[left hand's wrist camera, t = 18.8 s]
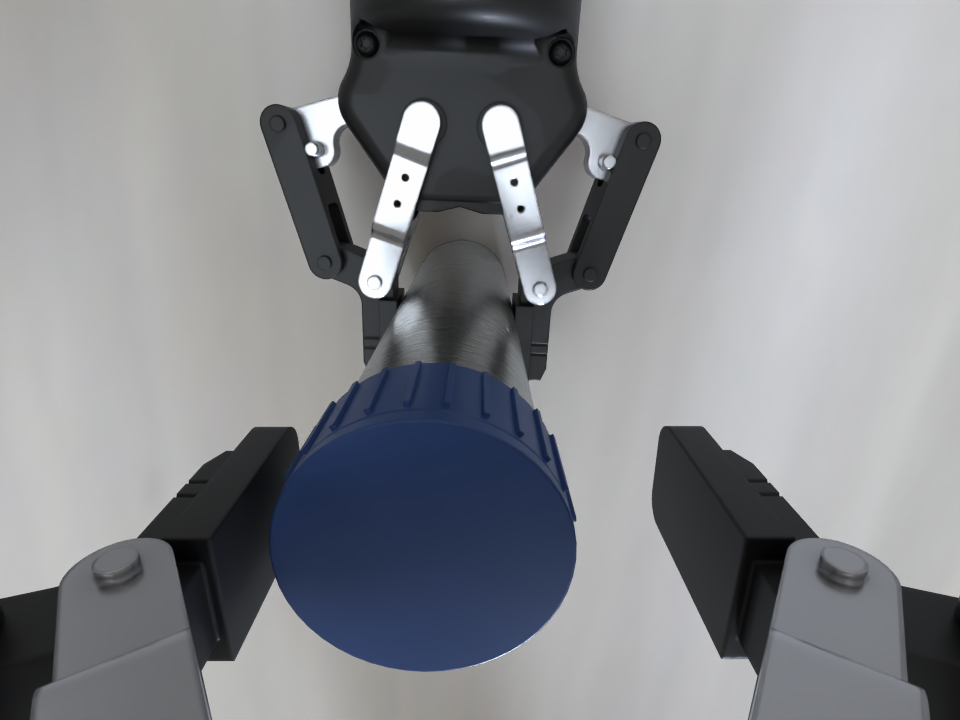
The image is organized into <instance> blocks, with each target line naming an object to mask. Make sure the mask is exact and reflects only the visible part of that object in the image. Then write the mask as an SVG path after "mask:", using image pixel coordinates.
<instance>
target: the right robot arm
mask: <svg viewBox="0 0 960 720" xmlns="http://www.w3.org/2000/svg"><path fill="white" fill-rule="evenodd" d="M580 9H581V0H350V13H351V43H352V49H351V58H350V63H349V66H348V69H347V72H346V74H345V76H344V78H343V80H342V82H341V84H340V88H339V92H338V96H336V97H332V98H329V99H325V100H321V101H318V102H314V103H310V104H307V105H303V106H299V107H295V108H290V107H286V106H283V105H279V104H273V105H270V106H268V107H266V108H265V109H264V110H263V112H262V114H261V117H260V126H261V130H262V132H263V135H264V138H265V141H266V144H267V147H268V150H269V153H270V155H271V158H272V161H273V164H274V167H275V170H276V173H277V176H278V178H279V181H280V184H281V187H282V190H283V193H284V196H285V199H286V201H287V204H288V207H289V210H290V213H291V216H292V219H293V222H294V224H295V227H296V230H297V233H298V236H299V239H300V242H301V245H302V248H303V250H304V253H305V256H306V259H307V262H308V265H309V267H310V270H311V271H312V272H313V274H315V275H316V276H317V277H319V278H322V279H331V278H332V279H335V280H337V281H340V282H342V283H345V284H347V285H350V286H351V287H353V288H354V289H355V290H356V291H357V292H358V294H359V295H360V298H361V301H362V321H363V346H364V349H363V352H364V363H365V365H366V366H367V364H368V362H369V360H370V359H371V357H372V355H373V353H374V351H375V349H376V348H377V346H378V344H379V342H380V340H381V339H382V337H383V335H384V333H385V331H386V329H387V328H388V326H389V324H390V322H391V320H392V318H393V317H394V315H395V313H396V311H397V309H398V308H399V306H400V304H401V302H402V300H403V298H404V288H398V277H399V275H400V272H401V269H402V265H403V262H404V259H405V256H406V253H407V250H408V247H409V244H410V241H411V238H412V235H413V233H414V230H415V227H416V225H417V222H418V219H419V215H420V212H421V211H428V212H439V211H443V210H448V209H452V208H456V207H462V208H466V209H469V210H472V211H475V212H478V213H481V214H500V215H503V218H504V222H505V226H506V229H507V233H508V237H509V240H510V244H511V248H512V252H513V256H514V260H515V264H516V267H517V271H518V275H519V281H518V293H513V295H512V310H513V314H514V319H515V323H516V328H517V333H518V337H519V342H520V346H521V351H522V355H523V360H524V365H525V369H526V374H527V378H528V381H529V380H540V379H541V377H542V375H543V374H544V372H545V370H546V362H547V351H548V339H549V327H550V316H551V309H552V306H553V304H554V302H555V301H556V300H557V299H558V298H559V297H560V296H562V295H564V294H566V293H570V292H573V291H576V290H579V289H584V290H594V289H596V288H598V287H600V286H601V285H602V284H603V282H604V281H605V278H606V276H607V274H608V271H609V269H610V266H611V264H612V261H613V259H614V256H615V254H616V252H617V249H618V247H619V244H620V242H621V239H622V237H623V234H624V232H625V230H626V227H627V225H628V222H629V220H630V217H631V215H632V213H633V210H634V208H635V205H636V203H637V200H638V198H639V195H640V193H641V191H642V188H643V186H644V183H645V181H646V178H647V176H648V173H649V171H650V169H651V166H652V164H653V161H654V159H655V156H656V154H657V151H658V149H659V146H660V143H661V134H660V131H659V129H658V128H657V127H656V126H655V125H654V124H653V123H650V122H635V123H630V122H627V121H624V120H621V119H619V118H616V117H613V116H611V115H608V114H605V113H602V112H600V111H597V110H594V109H592V108H589V107H587V100H586V96H585V93H584V91H583V88H582V86H581V83H580V80H579V76H578V72H577V63H576V56H577V43H578V32H579V21H580ZM347 127H349V129H350V130H351V132H352V133H353V135H354V136H355V137H356V139H357V140H358V142H359V143H360V145H361V146H362V148H363V149H364V151H365V152H366V153H367V155H368V156H369V158H370V159H371V161H372V162H373V164H374V165H375V166H376V168H377V169H378V171H379V172H380V174H381V175H382V177H383V178H384V180H385V183H384V187H383V190H382V194H381V197H380V200H379V204H378V207H377V210H376V214H375V217H374V221H373V225H372V234H371V238H370V241H369V245H368V248H367V250H366V249H364V248H361V247H359V246H356V245H354V244H353V241H352V238H351V235H350V232H349V229H348V226H347V222H346V219H345V216H344V213H343V210H342V207H341V203H340V200H339V197H338V194H337V191H336V188H335V184H334V181H333V178H332V175H331V172H330V168H329V167H330V166H333V165H334V164H335V163H336V162H337V161H338V159H339V157H340V145H339V140H340V136H341V134H342V132H343V131H344V130H345V129H346V128H347ZM576 136H577V137H578V138H580V140H581V141H582V142H583V144H584V147H585V157H584V168H585V171H586V172H587V174H588V175H589V176H591V177H592V178H595V180H594V183H593V185H592V188H591V191H590V193H589V196H588V199H587V201H586V204H585V206H584V209H583V212H582V214H581V217H580V220H579V222H578V225H577V228H576V230H575V233H574V235H573V238H572V241H571V243H570V246H569V249H568V251H567V253H565V254H561V255H558V256H555V257H552V258H550V257H549V253H548V249H547V245H546V240H545V232H544V227H543V223H542V219H541V214H540V210H539V206H538V202H537V198H536V193H535V188H536V187H537V185H538V184H539V183H540V181H541V180H542V179H543V178H544V176H545V175H546V174H547V173H548V171H549V170H550V169H551V167H552V166H553V165H554V164H555V162H556V161H557V160H558V159H559V157H560V156H561V155H562V153H563V152H564V151H565V150H566V148H567V147H568V146H569V145H570V143H571V142H572V141H573V139H574V138H575V137H576Z"/></svg>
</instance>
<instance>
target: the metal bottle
mask: <svg viewBox="0 0 960 720" xmlns="http://www.w3.org/2000/svg"><path fill="white" fill-rule="evenodd" d="M415 361H421V363H443V364H450V362H454V363H456V365H458V366H462V367H467V368H471V369H473V370H476V371H479V372H482V373H483V371H486V372H488V373H489V376H491V377H493V378H495V379H497V380H499V381H501V382H502V383H504V384H505V385H507V386H509V387H510V388H512V387H515V388H516V389H517V390H518V394H519V395H520V396H521V397H522V398H524V399H525V400H526V401H527V402H528V403H529V405H530V406H531V407H532V408H533V409H534V406H533V401H532V397H531V392H530V387H529V383H528V378H527V374H526V369H525V365H524V360H523V355H522V351H521V346H520V342H519V337H518V333H517V328H516V323H515V319H514V314H513V310H512V305H511V301H510V296H509V291H508V287H507V282H506V278H505V274H504V270H503V268H502V265H501V263H500V262H499V260H498V259H497V257H496V256H495V255H494V254H493V253H492V252H491V251H490V250H489V249H487V248H486V247H484V246H482V245H481V244H478V243H476V242H472V241H466V240H456V241H451V242H447V243H445V244H442V245H440V246H439V247H437V248H436V249H434V250H433V251H432V252H431V253H430V254H429V255H428V256H427V257H426V259H425V260H424V262H423V264H422V266H421V267H420V269H419V271H418V273H417V275H416V277H415V278H414V280H413V282H412V284H411V286H410V287H409V289H408V291H407V293H406V295H405V297H404V298H403V300H402V302H401V304H400V306H399V308H398V309H397V311H396V313H395V315H394V317H393V318H392V320H391V322H390V324H389V326H388V328H387V329H386V331H385V333H384V335H383V337H382V339H381V340H380V342H379V344H378V346H377V348H376V349H375V351H374V353H373V355H372V357H371V359H370V360H369V362H368V364H367V366H366V368H365V370H364V371H363V373H362V375H361V377H360V379H359V380H358V383H361V382H362V381H364V380H365V379H367V378H369V377H371V376H373V375H376V374H378V373H380V372H381V370H382V369H383V368H386V367H388V369H392V368H395V367H399V366H404V365H410V364H415Z"/></svg>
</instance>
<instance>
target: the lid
mask: <svg viewBox="0 0 960 720" xmlns="http://www.w3.org/2000/svg"><path fill="white" fill-rule="evenodd" d="M283 480H284V481H286V483H285V485H284V487H283V489H282V491H281V493H280V495H279V497H278V499H277V501H276V504H275V507H274V511H273V514H272V518H271V522H270V531H269V549H270V558H271V563H272V568H273V572H274V574H275V577H276V580H277V582H278V585H279V587H280V589H281V591H282V593H283V595H284V597H285V598H286V600H287V602H288V603H289V605H290V606H291V607H292V609H293V610H294V611H295V613H296V614H297V615H298V616H299V617H300V618H301V619H302V621H303V622H304V623H305V624H306V625H307V626H308V627H309V628H310V629H312V630H313V631H314V632H315V633H316V634H318V635H319V636H320V637H321V638H323V639H324V640H326V641H327V642H329V643H330V644H332V645H333V646H335V647H336V648H338V649H340V650H342V651H344V652H346V653H348V654H350V655H352V656H354V657H357V658H359V659H362V660H365V661H367V662H370V663H373V664H377V665H381V666H384V667H388V668H394V669H400V670H406V671H421V672H433V671H448V670H456V669H462V668H467V667H471V666H475V665H479V664H482V663H485V662H488V661H490V660H493V659H496V658H498V657H500V656H502V655H504V654H506V653H509V652H511V651H512V650H514V649H515V648H517V647H519V646H520V645H522V644H523V643H525V642H526V641H528V640H529V639H530V638H531V637H533V636H534V635H535V634H536V633H538V632H539V631H540V630H541V629H542V628H543V627H544V626H545V624H546V623H547V622H548V621H549V620H550V619H551V618H552V616H553V615H554V614H555V612H556V611H557V610H558V608H559V607H560V605H561V603H562V601H563V599H564V597H565V596H566V594H567V592H568V589H569V586H570V583H571V580H572V578H573V574H574V568H575V563H576V544H577V543H576V536H575V528H574V523H573V522H576V515H575V511H574V507H573V504H572V500H571V496H570V493H569V488H568V485H567V481H566V477H565V473H564V470H563V466H562V462H561V459H560V455H559V451H558V448H557V444H556V440H555V437H554V435H553V434H552V435H549V433H548V431H547V429H546V427H545V425H544V423H543V422H542V418H541V414H540V411H539V410H538V409H535V410H534V409H533V408H532V407H531V406H530V405H529V403H528V402H527V401H526V400H525V399H524V398H522V397H521V396H520V395H519V394H518V390H517V389H516V388H515V387H512V388H510V387H509V386H507V385H505V384H504V383H502V382H501V381H499V380H497V379H495V378H493V377H491V376H489V373H488V372H486V371H483V373H482V372H479V371H476V370H473V369H471V368H467V367H462V366H458V365H456V363H454V362H450V364H443V363H421V361H415V364H410V365H404V366H399V367H395V368H392V369H388V367H386V368H383V369H382V370H381V372H380V373H378V374H376V375H373V376H371V377H369V378H367V379H365V380H364V381H362V382H361V383H358V381H356V382H354V383H353V384H352V386H351V388H350V389H349V391H348V392H347V393H346V394H344V395H343V396H342V397H341V398H340V399H339V400H338V401H337V403H335V402H334V401H332V402H331V403H330V404H329V406H328V408H327V409H326V411H325V413H324V414H323V416H322V417H321V419H320V421H319V422H318V424H317V426H315V427H314V429H313V431H312V432H311V434H310V435H309V437H308V439H307V440H306V442H305V444H304V445H303V447H302V448H301V450H300V452H299V453H298V455H297V456H296V458H295V460H294V461H293V463H292V465H291V466H290V468H289V469H288V471H287V473H286V474H285V476H284V478H283Z"/></svg>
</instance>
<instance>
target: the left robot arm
mask: <svg viewBox="0 0 960 720" xmlns="http://www.w3.org/2000/svg"><path fill="white" fill-rule="evenodd" d="M299 452H300V450H299V442H298V436H297V433H296V430H295V429H294V428H293V427H254V428H253V429H252V430H251V431H250V432H249V433H248V434H247V436H246V437H245V438H244V439H243V440H242V442H241V443H240V444H239V445H238V446H237V448H236V449H235V450H234V451H225V452H224V453H222V454H220V455H219V456H217V457H215V458H214V459H212V460H210V461H209V462H207V463H205V464H204V465H203V466H202V467H201V468H200V469H199V470H198V471H197V472H196V473H195V474H194V476H193V477H192V478H191V479H190V480H189V484H185V486H184V487H183V488H182V489H181V490H180V491H179V492H178V493H177V497H176V498H173V499H172V500H171V501H170V502H169V503H168V504H167V505H166V507H165V508H164V509H163V510H162V511H161V512H160V513H159V514H158V515H157V517H156V518H155V519H154V520H153V521H152V522H151V523H150V524H149V525H148V527H147V528H146V529H145V530H144V531H143V532H142V533H141V534H140V535H139V536H138V538H137V539H130V540H125V541H121V542H118V543H115V544H112V545H109V546H106V547H104V548H102V549H99V550H97V551H95V552H93V553H92V554H90V555H88V556H86V557H85V558H83V559H82V560H80V561H79V562H78V563H77V564H75V565H74V566H73V567H72V568H71V569H70V570H69V571H68V572H67V573H66V574H65V576H64V577H63V578H62V580H61V582H60V585H59V586H58V587H54V588H50V589H45V590H40V591H35V592H31V593H26V594H21V595H16V596H12V597H7V598H2V599H0V720H212V716H211V712H210V707H209V703H208V698H207V694H206V689H205V685H204V681H203V676H202V672H201V671H202V669H203V667H204V665H205V663H206V662H207V661H235V659H236V657H237V655H238V652H239V650H240V648H241V646H242V644H243V642H244V640H245V638H246V636H247V634H248V632H249V630H250V628H251V626H252V624H253V622H254V620H255V618H256V616H257V614H258V612H259V610H260V607H261V605H262V603H263V601H264V599H265V597H266V595H267V593H268V591H269V589H270V587H271V585H272V583H273V581H274V579H275V574H274V572H273V568H272V563H271V558H270V549H269V531H270V522H271V518H272V514H273V511H274V507H275V504H276V501H277V499H278V497H279V495H280V493H281V491H282V489H283V487H284V485H285V483H286V481H284V480H283V478H284V476H285V474H286V473H287V471H288V469H289V468H290V466H291V465H292V463H293V461H294V460H295V458H296V456H297V455H298V453H299ZM652 508H653V514H654V519H655V522H656V524H657V527H658V529H659V531H660V533H661V535H662V537H663V539H664V541H665V543H666V545H667V547H668V549H669V551H670V554H671V556H672V558H673V560H674V562H675V564H676V566H677V568H678V570H679V572H680V574H681V576H682V578H683V580H684V583H685V585H686V587H687V589H688V591H689V593H690V595H691V597H692V599H693V601H694V603H695V605H696V607H697V610H698V612H699V614H700V616H701V618H702V620H703V622H704V624H705V626H706V628H707V630H708V632H709V634H710V637H711V639H712V641H713V643H714V645H715V647H716V649H717V651H718V653H719V655H720V657H721V659H749V661H750V663H751V664H752V666H753V668H754V670H755V672H756V674H757V681H756V685H755V689H754V694H753V698H752V703H751V707H750V712H749V716H748V720H960V597H959V598H956V597H952V596H947V595H942V594H937V593H933V592H928V591H923V590H918V589H914V588H909V587H904V586H901V585H900V582H899V580H898V578H897V577H896V576H895V574H894V573H893V572H892V571H891V570H890V569H889V568H888V567H887V566H886V565H885V564H883V563H882V562H881V561H880V560H878V559H877V558H875V557H874V556H872V555H870V554H868V553H867V552H865V551H863V550H861V549H858V548H856V547H854V546H851V545H848V544H845V543H842V542H839V541H835V540H830V539H823V538H819V537H818V536H817V535H816V534H815V532H814V531H813V530H812V529H811V528H810V527H809V526H808V525H807V523H806V522H805V521H804V520H803V519H802V518H801V517H800V516H799V515H798V513H797V512H796V511H795V510H794V509H793V508H792V507H791V506H790V504H789V503H788V502H787V501H786V500H785V499H784V498H783V497H782V496H779V492H778V491H777V490H776V489H775V488H774V487H773V485H772V484H771V483H768V482H767V479H766V478H765V477H764V475H763V474H762V473H761V472H760V471H759V470H758V469H757V468H756V466H755V465H754V464H753V463H751V462H749V461H748V460H746V459H744V458H743V457H741V456H739V455H738V454H736V453H734V452H733V451H731V450H722V448H721V447H720V446H719V445H718V444H717V442H716V441H715V440H714V439H713V438H712V436H711V435H710V434H709V433H708V432H707V430H706V429H705V428H704V427H702V426H664V427H663V428H662V430H661V432H660V435H659V442H658V450H657V458H656V466H655V474H654V481H653V489H652Z"/></svg>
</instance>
